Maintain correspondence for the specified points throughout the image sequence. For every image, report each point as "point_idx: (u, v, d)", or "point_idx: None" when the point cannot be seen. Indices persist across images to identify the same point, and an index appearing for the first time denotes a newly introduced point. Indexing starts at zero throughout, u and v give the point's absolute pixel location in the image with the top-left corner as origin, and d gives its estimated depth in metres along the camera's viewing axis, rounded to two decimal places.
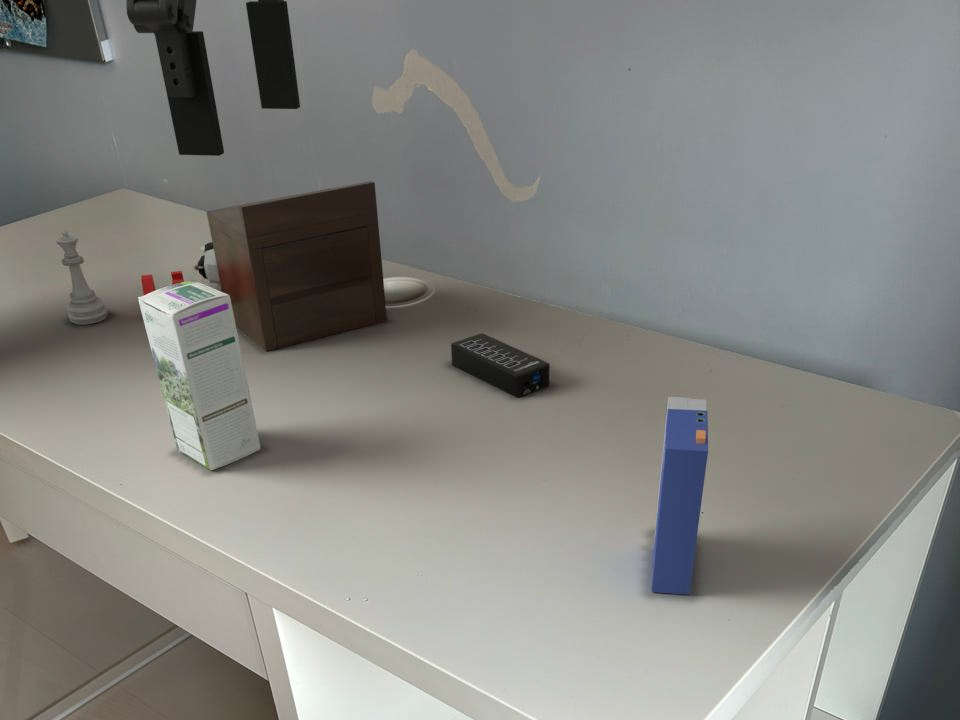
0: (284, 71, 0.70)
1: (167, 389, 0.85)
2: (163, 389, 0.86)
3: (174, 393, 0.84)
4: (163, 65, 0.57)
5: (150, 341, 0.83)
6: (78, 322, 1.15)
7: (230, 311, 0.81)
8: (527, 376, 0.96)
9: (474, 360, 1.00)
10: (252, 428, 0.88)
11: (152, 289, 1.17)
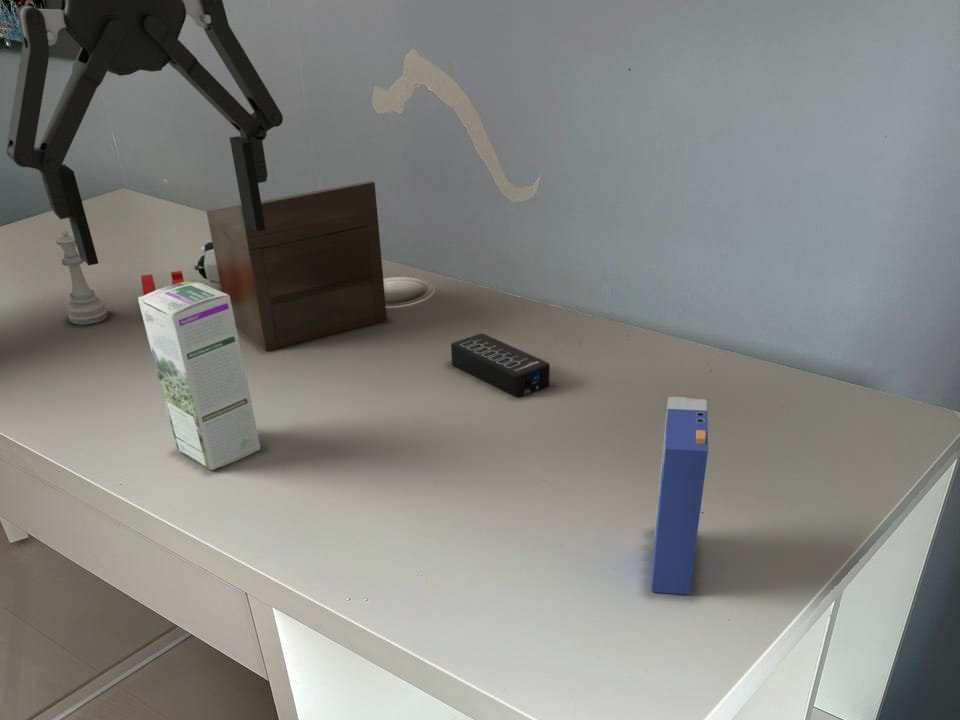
0: (249, 198, 0.79)
1: (167, 389, 0.85)
2: (163, 389, 0.86)
3: (174, 393, 0.84)
4: (46, 191, 0.72)
5: (150, 341, 0.83)
6: (78, 322, 1.15)
7: (230, 311, 0.81)
8: (527, 376, 0.96)
9: (474, 360, 1.00)
10: (252, 428, 0.88)
11: (152, 289, 1.17)
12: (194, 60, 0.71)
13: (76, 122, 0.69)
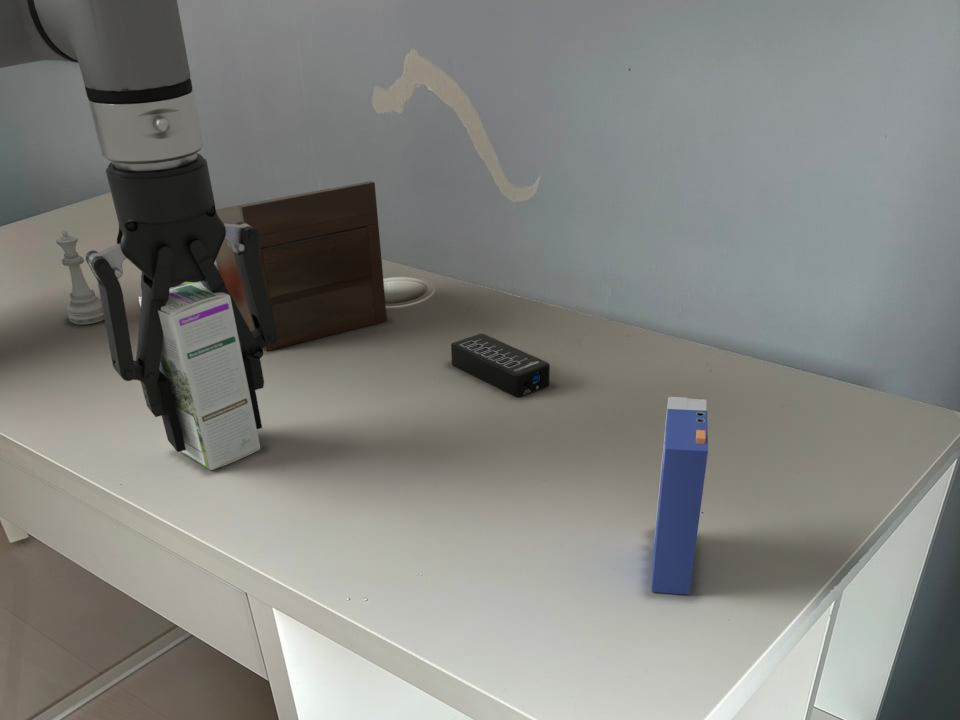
0: None
1: None
2: None
3: (174, 392, 0.84)
4: (144, 394, 0.84)
5: None
6: (78, 322, 1.15)
7: (230, 311, 0.81)
8: (527, 376, 0.96)
9: (474, 360, 1.00)
10: (252, 428, 0.88)
11: None
12: (221, 283, 0.80)
13: (159, 336, 0.80)
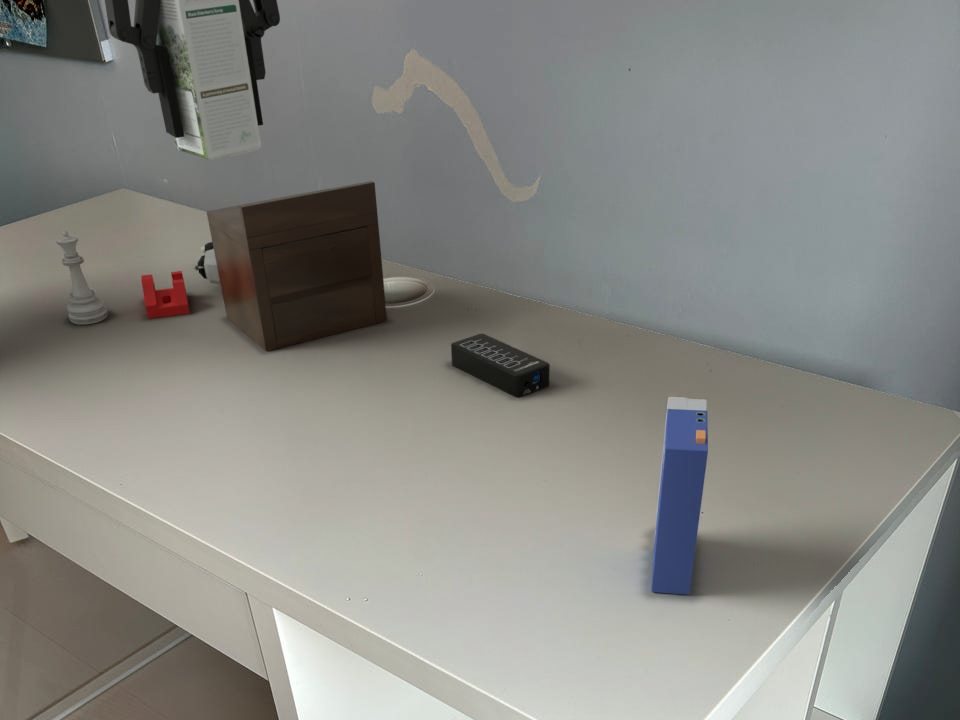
0: None
1: None
2: None
3: (173, 68, 0.81)
4: (141, 68, 0.81)
5: None
6: (78, 322, 1.15)
7: None
8: (527, 376, 0.96)
9: (474, 360, 1.00)
10: (252, 121, 0.85)
11: (152, 289, 1.17)
12: None
13: None
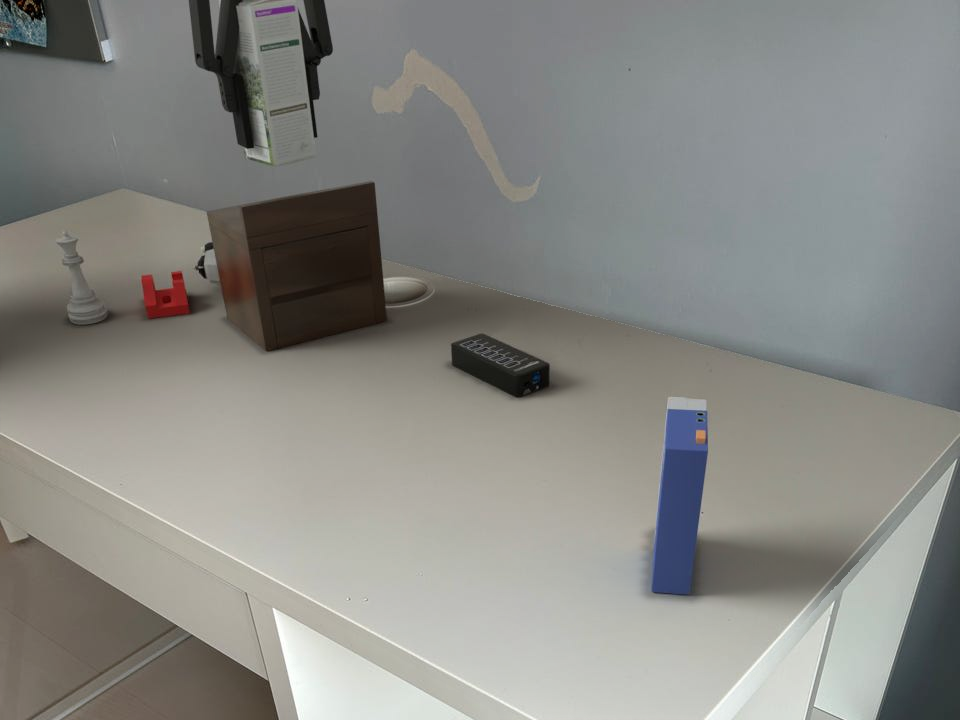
0: None
1: None
2: None
3: (246, 91, 0.99)
4: (220, 92, 0.98)
5: None
6: (78, 322, 1.15)
7: (296, 14, 0.96)
8: (527, 376, 0.96)
9: (474, 360, 1.00)
10: (310, 134, 1.02)
11: (152, 289, 1.17)
12: None
13: (236, 31, 0.95)
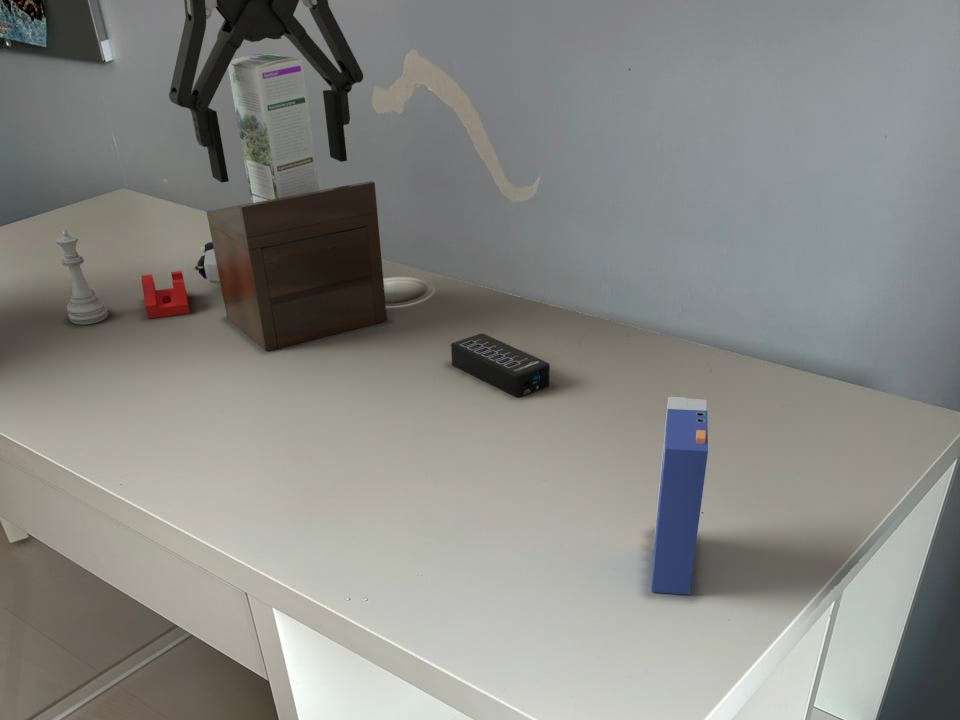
0: (336, 136, 1.06)
1: (247, 146, 1.03)
2: (244, 148, 1.03)
3: (254, 147, 1.02)
4: (194, 126, 0.99)
5: (235, 102, 1.01)
6: (78, 322, 1.15)
7: (302, 73, 0.99)
8: (527, 376, 0.96)
9: (474, 360, 1.00)
10: (315, 186, 1.06)
11: (152, 289, 1.17)
12: (303, 31, 0.98)
13: (220, 75, 0.96)
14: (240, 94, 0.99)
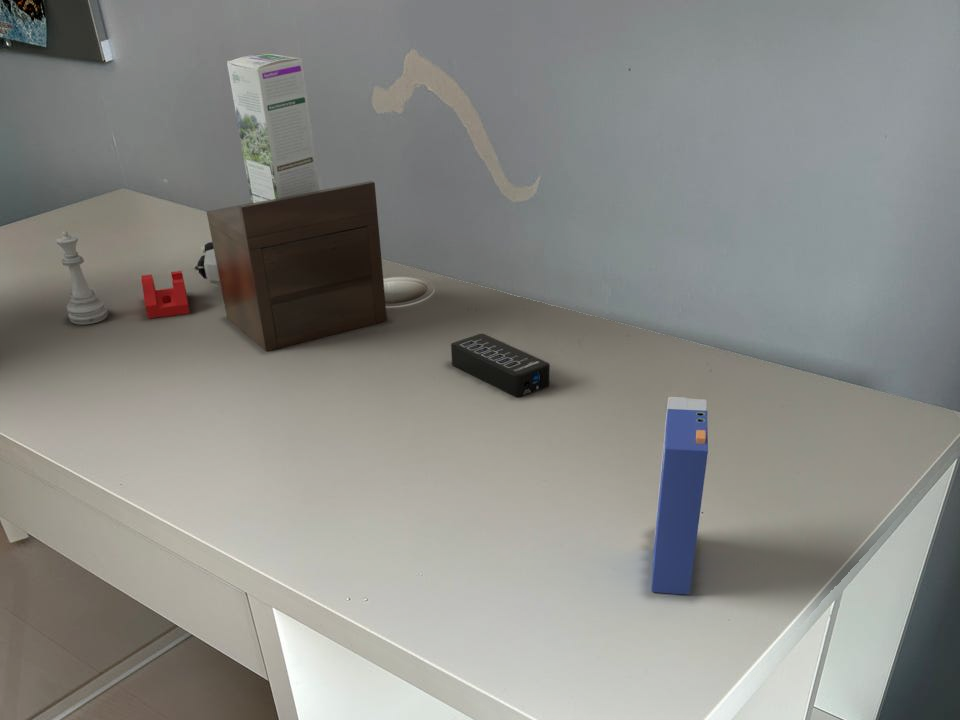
0: None
1: (247, 146, 1.03)
2: (244, 148, 1.03)
3: (254, 147, 1.02)
4: None
5: (235, 102, 1.01)
6: (78, 322, 1.15)
7: (302, 73, 0.99)
8: (527, 376, 0.96)
9: (474, 360, 1.00)
10: (315, 186, 1.06)
11: (152, 289, 1.17)
12: None
13: None
14: (240, 94, 0.99)
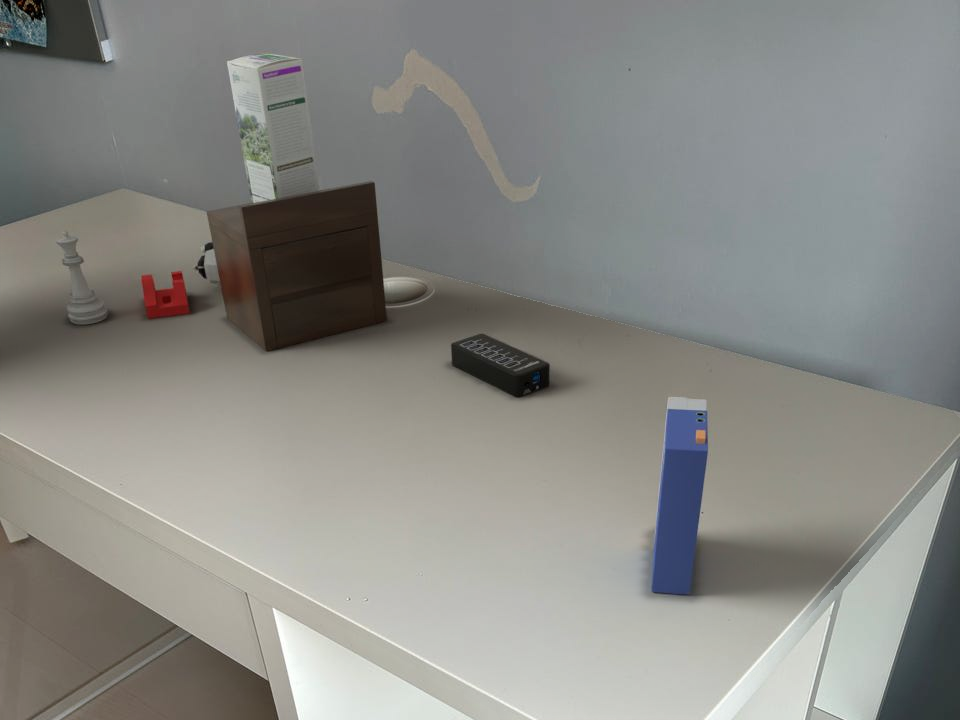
0: None
1: (247, 146, 1.03)
2: (244, 148, 1.03)
3: (254, 147, 1.02)
4: None
5: (235, 102, 1.01)
6: (78, 322, 1.15)
7: (302, 73, 0.99)
8: (527, 376, 0.96)
9: (474, 360, 1.00)
10: (315, 186, 1.06)
11: (152, 289, 1.17)
12: None
13: None
14: (240, 94, 0.99)
